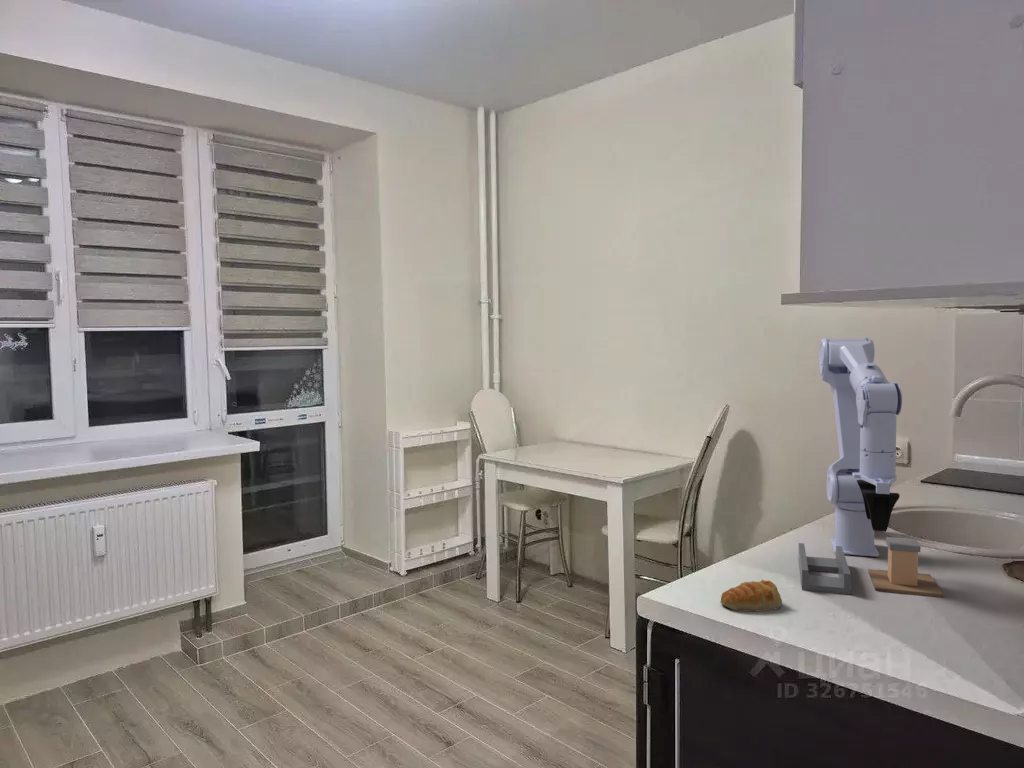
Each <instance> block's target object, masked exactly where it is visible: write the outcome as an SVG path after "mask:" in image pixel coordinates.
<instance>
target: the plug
mask: <svg viewBox="0 0 1024 768" xmlns="http://www.w3.org/2000/svg"><path fill="white" fill-rule="evenodd" d="M885 544H886V545H887V571H888V578H889V580H890V582H891V584H901V585H913V586H917V580H918V571H919V570H918V568H919V553H921V549H922V547H921V545H920V544H919V542H918V541H917V539H916V538H906V537H904V538H903V537H892V536H891V537H890V536H886V537H885Z"/></svg>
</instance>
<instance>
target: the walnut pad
mask: <svg viewBox="0 0 1024 768" xmlns="http://www.w3.org/2000/svg"><path fill="white" fill-rule="evenodd" d="M867 573H868V575H869V577H870V581H871V583H872V586H873V588H874V590H875V592H876V591H877V592H884V593H886V592H887V593H894V594H895V593H897V594H906V595H918V596H927V597H936V598H937V597H940V598H943V597H944V594H943V592H942V591H941V589H940V587H939V586H938V584H937V582H936V581H935V580H934V578H933V577H932V575H931V574H930V573H920V572H919V573H918V580H917V586H913V585H901V584H891V582H890V580H889V578H888V570H885V569H884V570H882V569H873V568H872V569H870V568H868V569H867Z"/></svg>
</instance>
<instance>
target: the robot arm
mask: <svg viewBox="0 0 1024 768" xmlns="http://www.w3.org/2000/svg"><path fill="white" fill-rule="evenodd" d="M875 352H876V351H875V344H874V341H873V339H871V337H856V338H855V337H854V338H853V337H852V338H851V337H850V338H847V337H845V338H828V337H823V338H822V339H821V340H820V343H819V346H818V363H819V372H820V376H821V380H822V381H823V382H825V383H827V384H828V385H829V386H830V390H831V392H832V393H831V394H832V399H833V408H834V409H833V410H834V417H835V427H836V436H837V443H838V454H839V458H838V459H837V460H835V461H834V462H833V463H831V464H830V465H829V466H828V469H827V471H826V495H827V496H826V497H827V500H828V501H829V502H830V504H832V505H834V507H835V508H834V521H835V522H834V538H833V537H831V538H830V543H831V547H832V550H833V553H834V554H836V546H842V549H843V552H844V555H849V556H850V555H852V556H862V557H863V556H864V557H875V558H877V557H879V556H880V554H879V551H878V549H877V548H876V545H875V532H887V530H888V527H889V523H890V520H891V516H892V512H893V509H894V507H895V505H896V503H898V501H899V499H900V493H898V492H891V490H890V489H891V487H892V484H894V483H895V482H897V479H898V477H897V475H896V466H897V465H896V464H897V463H896V460H897V453H896V452H897V416H899V415H900V414H901V411H902V407H903V393H902V388H901V386H900V384H899V383H898V382H896V381H890V382H889V381H888V379H887V377H886V375H885V374H884V372H883V371H882V369H881V367H879V366H878V365H876V364H875V362H874V361H875Z"/></svg>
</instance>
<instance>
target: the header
mask: <svg viewBox="0 0 1024 768" xmlns="http://www.w3.org/2000/svg"><path fill="white" fill-rule="evenodd" d="M797 558H798V568H799V577H800V586H801V590H802V591H811V592H823V593H833V594H843V595H851V581H852V580H851V578H852V577H851V576H852V574H851V571H850V568H849V565H848V561H847V559H846V558H847V557H846V554H844V552H843V549H842V546H836V553H835V558H831V557H819V556H807V552H806V546H805V543H803V542H802V543H801V542H798V557H797ZM809 571H813V572H825V573H833V574H835V573H836V574H838V577H837V576H827V575H826V576H825V575H814V574H809Z"/></svg>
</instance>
